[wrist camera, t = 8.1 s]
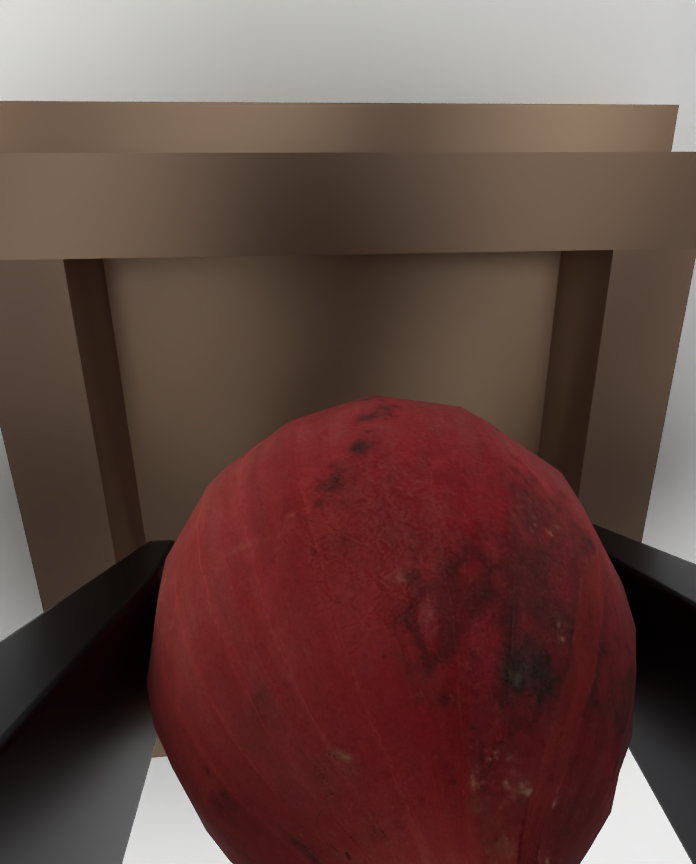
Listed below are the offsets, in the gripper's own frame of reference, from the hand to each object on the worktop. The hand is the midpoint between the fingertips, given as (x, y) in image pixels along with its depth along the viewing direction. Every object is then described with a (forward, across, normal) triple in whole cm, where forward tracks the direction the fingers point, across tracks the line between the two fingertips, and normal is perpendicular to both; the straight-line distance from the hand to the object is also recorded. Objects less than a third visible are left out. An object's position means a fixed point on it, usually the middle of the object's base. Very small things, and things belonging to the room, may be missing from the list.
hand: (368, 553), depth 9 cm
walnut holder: (+5, 0, 0) cm, 5 cm away
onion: (+2, 0, 0) cm, 2 cm away
